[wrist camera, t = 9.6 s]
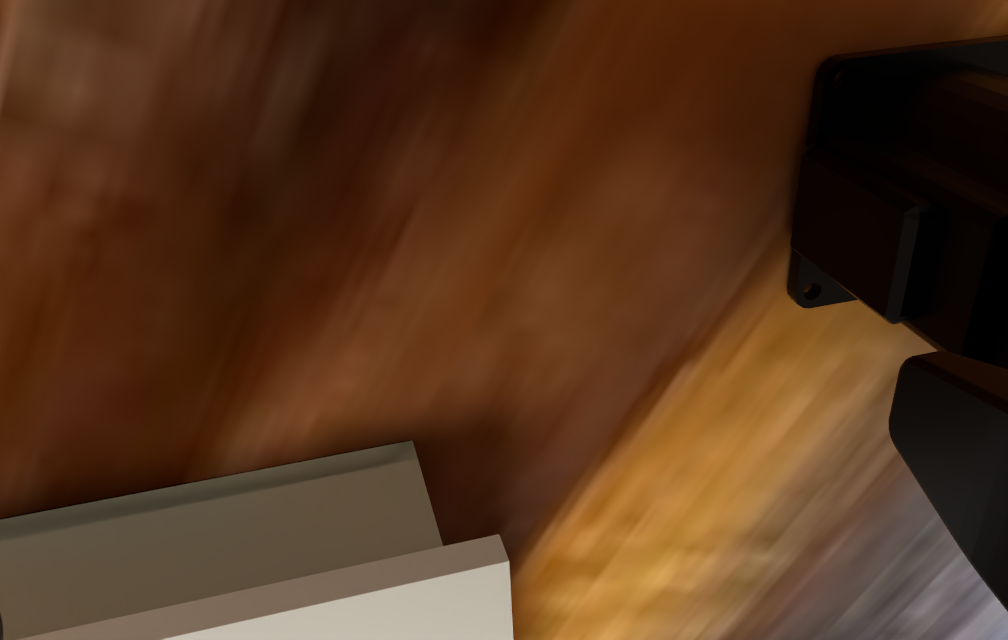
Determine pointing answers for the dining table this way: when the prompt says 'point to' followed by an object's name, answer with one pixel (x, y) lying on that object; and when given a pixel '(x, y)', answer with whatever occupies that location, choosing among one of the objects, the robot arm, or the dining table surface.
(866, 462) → the dining table surface
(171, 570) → the pale green open box
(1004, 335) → the robot arm
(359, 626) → the lid
